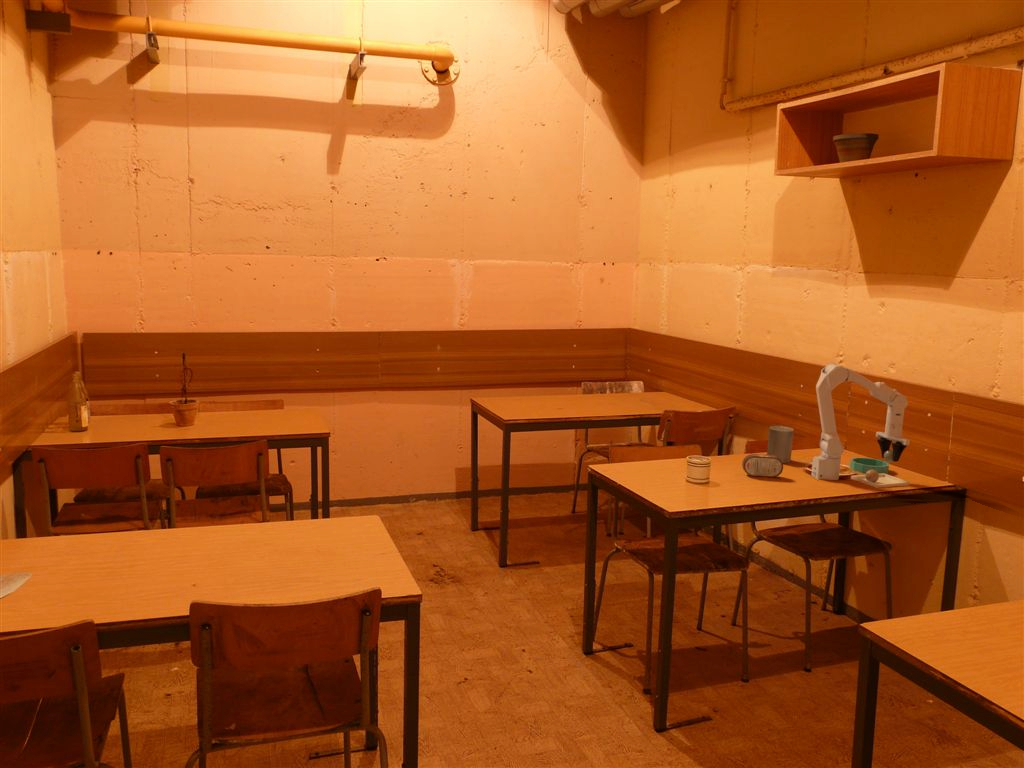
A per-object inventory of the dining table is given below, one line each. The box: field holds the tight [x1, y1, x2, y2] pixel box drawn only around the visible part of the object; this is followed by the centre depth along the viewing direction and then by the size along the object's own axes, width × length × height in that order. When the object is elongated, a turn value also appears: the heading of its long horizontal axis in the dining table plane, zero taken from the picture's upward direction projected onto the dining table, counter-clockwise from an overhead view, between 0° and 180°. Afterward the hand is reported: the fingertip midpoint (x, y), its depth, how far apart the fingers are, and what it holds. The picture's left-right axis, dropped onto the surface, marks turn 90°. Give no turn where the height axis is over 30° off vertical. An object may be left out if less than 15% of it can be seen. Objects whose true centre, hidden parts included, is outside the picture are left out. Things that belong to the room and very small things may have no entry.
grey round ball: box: [883, 449, 895, 464], centre depth 311 cm, size 5×5×5 cm
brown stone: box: [864, 470, 879, 483], centre depth 309 cm, size 5×5×5 cm
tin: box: [741, 453, 784, 478], centre depth 314 cm, size 15×3×8 cm, turn 84°
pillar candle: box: [766, 424, 795, 464], centre depth 340 cm, size 10×10×15 cm
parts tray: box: [850, 473, 911, 489], centre depth 310 cm, size 16×13×2 cm
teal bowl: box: [849, 457, 890, 475], centre depth 328 cm, size 14×14×4 cm
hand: (890, 459), depth 311 cm, fingers closed on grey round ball, 5 cm apart
